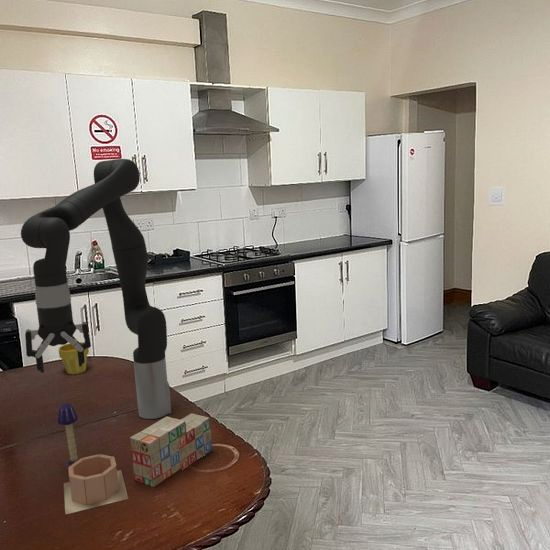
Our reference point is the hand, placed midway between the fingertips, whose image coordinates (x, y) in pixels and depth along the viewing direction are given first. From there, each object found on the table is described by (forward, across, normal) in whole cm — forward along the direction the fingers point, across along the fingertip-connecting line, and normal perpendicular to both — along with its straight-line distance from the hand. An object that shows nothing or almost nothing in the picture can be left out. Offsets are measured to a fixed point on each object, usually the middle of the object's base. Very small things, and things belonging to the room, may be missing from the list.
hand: (61, 368), depth 132 cm
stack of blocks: (+26, -23, +11) cm, 37 cm away
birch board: (+26, -4, +15) cm, 30 cm away
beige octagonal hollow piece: (+25, -4, +15) cm, 29 cm away
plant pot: (+26, -4, -73) cm, 78 cm away
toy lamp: (+26, 0, 0) cm, 26 cm away
